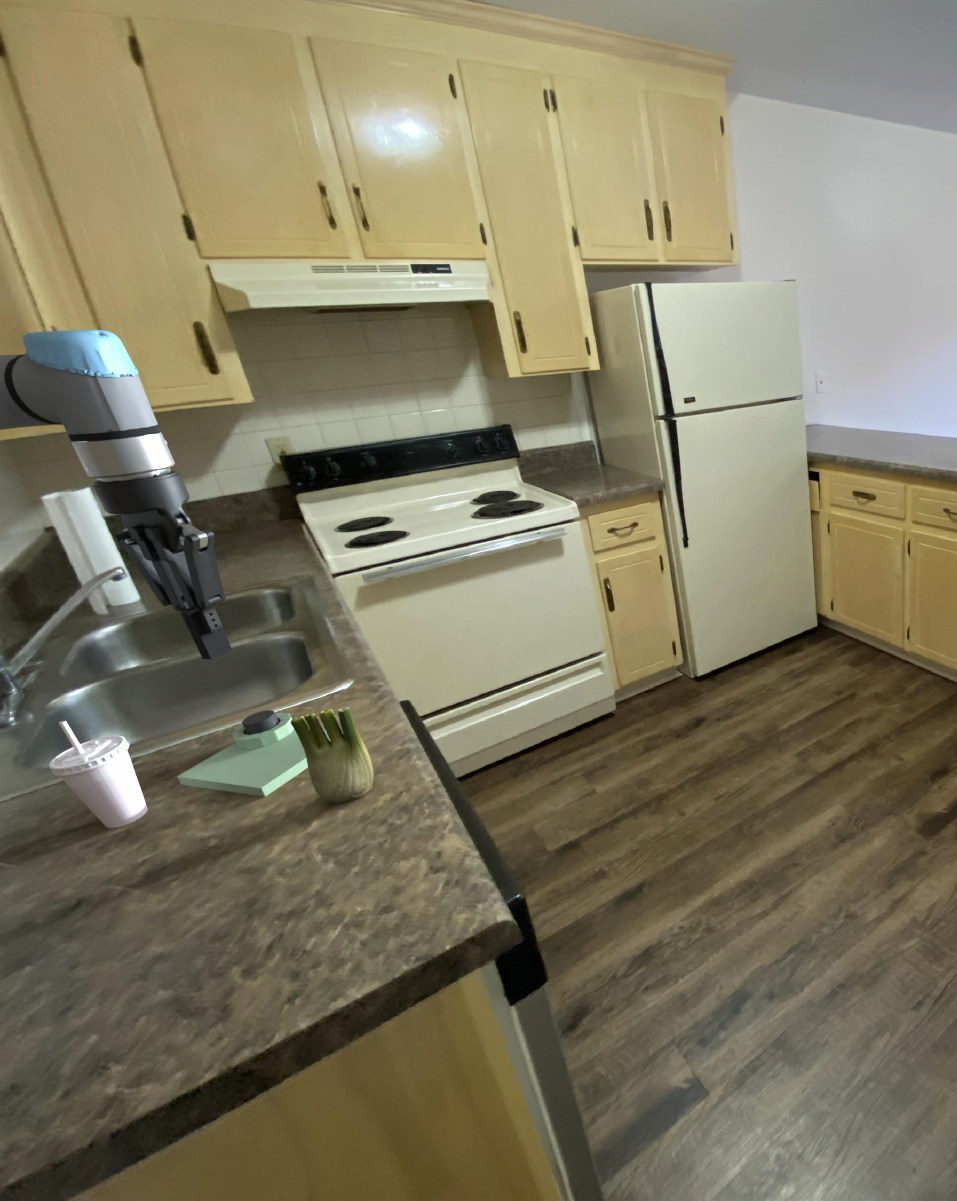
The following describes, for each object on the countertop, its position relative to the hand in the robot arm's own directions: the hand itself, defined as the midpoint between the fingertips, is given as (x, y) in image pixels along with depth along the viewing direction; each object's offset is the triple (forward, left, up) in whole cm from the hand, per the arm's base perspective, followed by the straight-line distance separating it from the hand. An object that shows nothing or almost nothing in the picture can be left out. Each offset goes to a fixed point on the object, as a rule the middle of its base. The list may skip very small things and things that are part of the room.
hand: (217, 654), depth 85 cm
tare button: (0, +1, -12) cm, 12 cm away
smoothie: (-3, -15, -15) cm, 21 cm away
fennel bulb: (+22, -7, -15) cm, 28 cm away
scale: (+4, -3, -15) cm, 15 cm away
